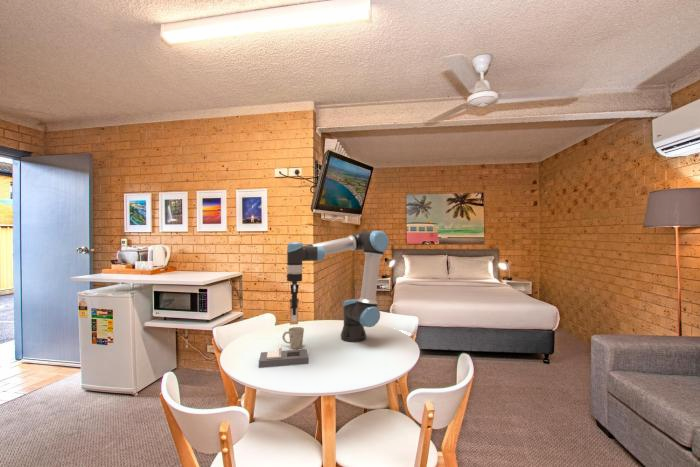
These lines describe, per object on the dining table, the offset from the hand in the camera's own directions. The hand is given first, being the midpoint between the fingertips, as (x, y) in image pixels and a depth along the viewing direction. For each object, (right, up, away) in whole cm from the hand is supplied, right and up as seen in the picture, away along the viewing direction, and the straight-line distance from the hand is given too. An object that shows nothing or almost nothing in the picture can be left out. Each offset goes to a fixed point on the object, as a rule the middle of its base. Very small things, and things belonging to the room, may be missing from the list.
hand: (294, 320), depth 162 cm
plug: (0, -2, 0) cm, 2 cm away
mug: (-4, -20, +18) cm, 27 cm away
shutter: (-9, -16, -3) cm, 19 cm away
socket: (-5, -20, -2) cm, 20 cm away
